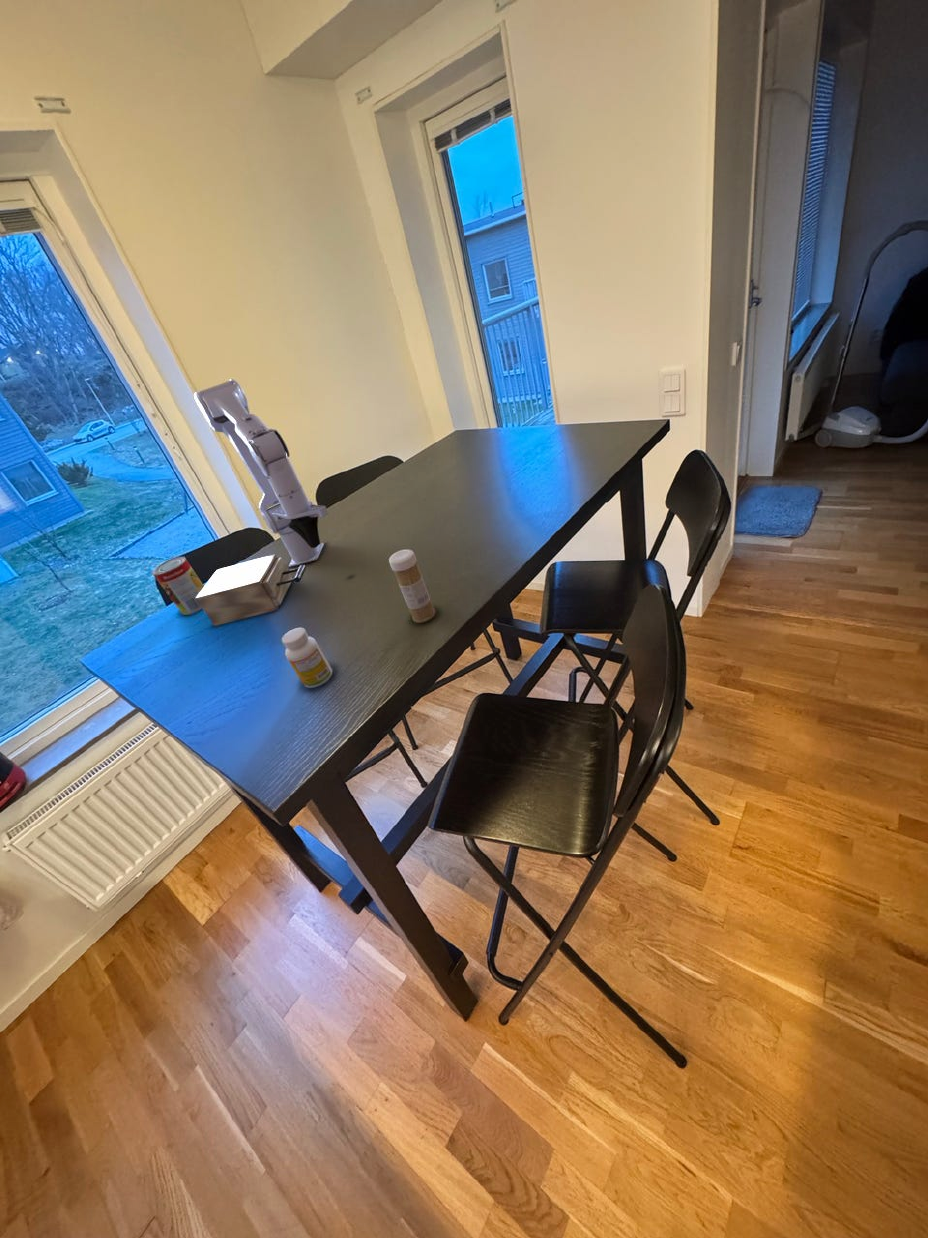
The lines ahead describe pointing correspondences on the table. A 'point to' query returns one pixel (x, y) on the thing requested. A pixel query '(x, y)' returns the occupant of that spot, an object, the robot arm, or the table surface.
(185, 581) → the canned food
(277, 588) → the drawer
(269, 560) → the cabinet
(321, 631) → the table surface
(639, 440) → the table surface
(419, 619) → the sprinkles bottle
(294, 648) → the supplement bottle
